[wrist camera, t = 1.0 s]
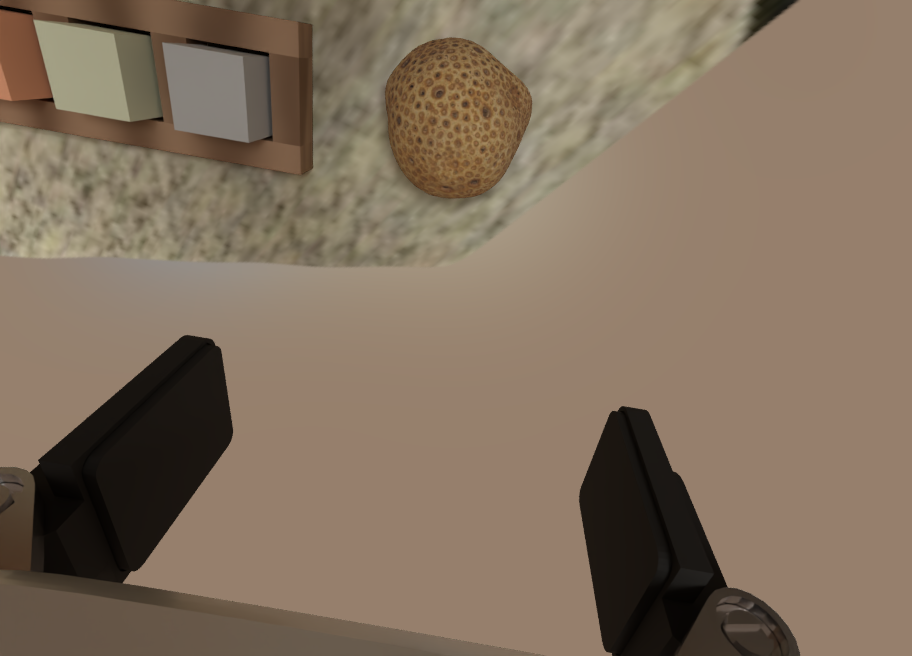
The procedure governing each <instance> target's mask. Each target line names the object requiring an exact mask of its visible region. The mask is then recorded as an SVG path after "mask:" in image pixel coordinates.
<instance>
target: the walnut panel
mask: <svg viewBox="0 0 912 656" xmlns="http://www.w3.org/2000/svg"><path fill="white" fill-rule="evenodd" d="M0 5H2V6H8V7H13V8H19V9H25V10H30V11H32V14H33V18H34V20H43V21H55V22H66V23H77V24H87V25H92V26H97V23H96V22H98V23H104V24H110V25H116V26H121V27H127V28H133V29H138V30H144V31H150V34H151V41H152V47H153V54H154V60H155V67H156V73H157V80H158V86H159V93H160V99H161V106H162V112H163V117H158V118H151V119H145V120H139V121H133V122H128V121H122V120H117V119H111V118H105V117H100V116H94V115H88V114H83V113H77V112H71V111H66V110H60V109H56V106H55V102H54V98H43V99H30V100H18V101H9V100H4V99H0V122H6V123H12V124H17V125H23V126H29V127H34V128H40V129H46V130H51V131H57V132H62V133H68V134H74V135H79V136H85V137H91V138H96V139H102V140H108V141H113V142H119V143H124V144H130V145H136V146H141V147H147V148H153V149H158V150H164V151H169V152H175V153H181V154H186V155H192V156H198V157H203V158H209V159H215V160H220V161H226V162H231V163H237V164H243V165H248V166H254V167H260V168H265V169H271V170H277V171H282V172H288V173H293V174H299V175H301V174H303V173H305V172H307V171H309V170H310V169H312V168H313V100H312V25H311V24H306V23H301V22H295V21H289V20H284V19H278V18H272V17H267V16H261V15H255V14H250V13H244V12H238V11H233V10H227V9H221V8H215V7H210V6H204V5H198V4H193V3H187V2H181V1H176V0H0ZM162 42H165V43H183V44H200V45H206V46H207V42H212V43H218V44H223V45H229V46H235V47H240V48H246V49H252V50H257V51H263V52H269V64H270V86H271V108H272V131H273V135H272V136H269V137H266V138H263V139H260V140H256V141H253V142H250V143H246V142H241V141H235V140H229V139H224V138H218V137H213V136H207V135H201V134H196V133H190V132H184V131H179V130H175V129H174V122H173V115H172V108H171V101H170V94H169V87H168V80H167V73H166V66H165V59H164V52H163V45H162Z"/></svg>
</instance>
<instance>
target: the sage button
mask: <svg viewBox="0 0 912 656" xmlns="http://www.w3.org/2000/svg"><path fill="white" fill-rule="evenodd" d="M33 21H34V24H35V28H36V32H37V36H38V40H39V44H40V48H41V52H42V55H43V59H44V63H45V67H46V71H47V75H48V79H49V83H50V86H51V90H52V94H53V98H54V102H55V106H56V109H60V110H66V111H71V112H77V113H83V114H88V115H94V116H100V117H105V118H111V119H117V120H122V121H128V122H133V121H139V120H145V119H151V118H158V117H163V112H162V106H161V99H160V93H159V86H158V80H157V73H156V67H155V60H154V54H153V47H152V41H151V36H149V35H143V34H138V33H132V32H126V31H121V30H115V29H109V28H104V27H98V26H92V25H87V24H77V23H66V22H55V21H43V20H33Z"/></svg>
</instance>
